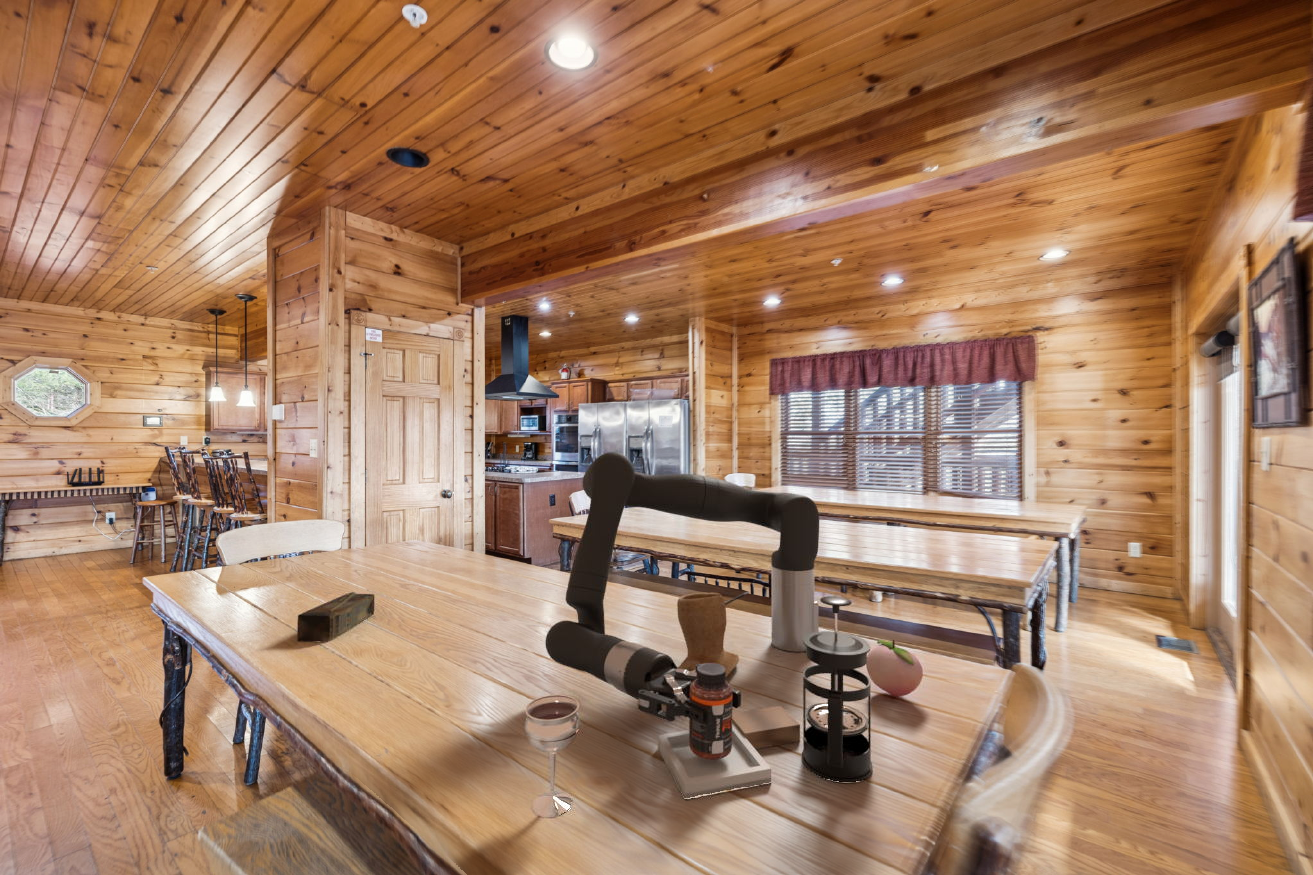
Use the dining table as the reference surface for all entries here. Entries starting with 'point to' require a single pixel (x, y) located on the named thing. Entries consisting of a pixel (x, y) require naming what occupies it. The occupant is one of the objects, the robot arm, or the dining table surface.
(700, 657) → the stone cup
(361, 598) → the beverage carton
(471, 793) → the dining table surface
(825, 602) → the french press
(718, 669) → the supplement bottle
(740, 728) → the brown block
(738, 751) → the tray
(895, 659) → the decorative fruit
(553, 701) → the wineglass
